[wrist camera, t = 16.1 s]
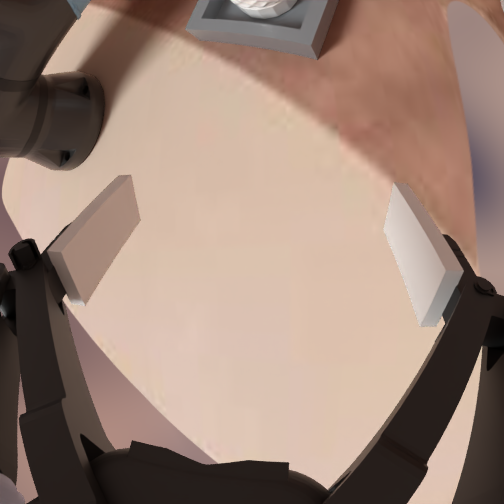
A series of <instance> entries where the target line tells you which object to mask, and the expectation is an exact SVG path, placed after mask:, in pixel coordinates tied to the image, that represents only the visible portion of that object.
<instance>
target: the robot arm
mask: <svg viewBox="0 0 504 504" xmlns="http://www.w3.org/2000/svg"><path fill="white" fill-rule="evenodd" d="M90 1H91V0H0V158H3V157H5V158H6V157H21V158H26V159H28V160H31V161H33V162H35V163H37V164H40V165H42V166H44V167H46V168H49V169H51V170H62V171H67V170H72V169H74V168H76V167H77V166H79V165H80V164H81V163H82V162H83V161H84V160H85V159H86V157H87V156H88V155H89V153H90V152H91V150H92V148H93V146H94V144H95V142H96V140H97V137H98V135H99V132H100V129H101V125H102V120H103V115H104V94H103V89H102V86H101V84H100V82H99V81H98V79H97V78H96V77H94V76H93V75H90V74H87V73H83V72H78V71H73V72H64V73H56V74H49V75H41V73H42V72H43V70H44V68H45V67H46V65H47V63H48V62H49V60H50V58H51V57H52V55H53V54H54V52H55V51H56V49H57V47H58V46H59V44H60V43H61V41H62V40H63V38H64V37H65V36H66V34H67V33H68V31H69V30H70V28H71V27H72V26H73V24H74V23H75V22H76V20H77V19H78V20H79V19H80V17H81V13H82V12H83V10H84V9H85V8H86V6H87V5H88V4H89V2H90ZM139 222H140V215H139V211H138V206H137V201H136V197H135V192H134V187H133V182H132V177H131V175H120V176H118V177H117V178H116V179H114V180H113V181H112V182H111V183H110V184H109V185H108V186H107V187H106V188H105V189H104V190H103V191H102V192H101V193H100V194H99V195H98V196H97V197H96V198H95V199H94V200H93V201H92V202H91V203H90V204H89V205H88V206H87V207H86V208H85V209H84V210H83V211H82V212H81V214H80V215H79V216H78V217H77V218H76V219H75V220H74V221H73V222H72V223H70V224H69V225H67V226H66V227H65V228H64V229H63V230H62V231H61V232H60V233H59V235H57V236H56V238H55V239H54V240H53V241H52V242H51V243H50V244H49V246H48V247H47V248H46V249H45V250H44V251H43V253H42V254H40V252H39V250H38V247H37V245H36V243H35V240H34V239H25V240H22V241H20V242H18V243H17V244H15V245H14V246H13V247H12V248H11V249H10V251H9V253H8V254H9V257H10V259H11V261H12V263H13V265H14V267H15V269H16V270H15V271H10V272H8V271H7V269H6V267H5V265H4V264H3V263H0V311H1V312H2V314H3V316H1V312H0V504H25V500H24V497H23V495H22V494H21V493H20V492H18V491H17V488H16V481H17V468H18V466H17V456H18V454H17V415H18V414H17V413H18V395H19V382H20V372H21V379H22V387H23V393H24V398H25V405H26V413H24V414H22V415H20V417H19V425H20V430H21V435H22V439H23V443H24V448H25V452H26V456H27V460H28V463H29V467H30V471H31V474H32V477H33V481H34V484H35V486H36V490H37V493H38V497H37V498H35V499H33V500H32V501H30V502H29V503H27V504H407V503H408V501H409V500H410V498H411V497H412V496H413V494H414V493H415V491H416V490H417V488H418V487H419V485H420V484H421V482H422V480H423V479H424V477H425V475H426V473H427V470H428V466H427V462H428V460H429V458H430V456H431V455H432V453H433V451H434V449H435V448H436V446H437V444H438V442H439V441H440V439H441V437H442V435H443V433H444V431H445V429H446V428H447V426H448V424H449V422H450V420H451V418H452V416H453V414H454V412H455V410H456V408H457V405H458V403H459V401H460V399H461V397H462V395H463V392H464V390H465V388H466V385H467V383H468V381H469V378H470V376H471V373H472V371H473V368H474V366H475V363H476V360H477V358H478V355H479V352H480V350H481V347H482V361H481V372H480V381H479V390H478V397H477V404H476V410H475V416H474V422H473V427H472V432H471V437H470V441H469V446H468V450H467V454H466V458H465V462H464V466H463V470H462V473H461V477H460V480H459V483H458V487H457V490H456V493H455V496H454V499H453V502H452V504H504V296H501V295H498V294H497V292H496V290H495V287H494V286H493V285H492V284H491V283H490V282H489V281H487V280H486V279H484V278H482V277H478V276H476V274H475V273H474V271H473V269H472V267H471V266H470V264H469V262H468V261H467V259H466V258H465V256H464V254H463V253H462V251H461V249H460V248H459V246H458V245H457V243H456V242H455V241H454V240H453V239H452V238H451V237H450V236H448V235H444V234H442V233H441V232H440V230H439V229H438V227H437V226H436V224H435V223H434V221H433V220H432V218H431V217H430V215H429V214H428V212H427V211H426V209H425V208H424V206H423V205H422V203H421V202H420V201H419V199H418V198H417V196H416V195H415V194H414V192H413V191H412V189H411V188H410V187H409V185H408V184H406V183H397V182H393V187H392V192H391V197H390V202H389V207H388V211H387V216H386V220H385V225H384V229H383V230H384V232H385V235H386V237H387V240H388V242H389V244H390V247H391V249H392V252H393V254H394V257H395V259H396V262H397V264H398V267H399V270H400V272H401V275H402V277H403V280H404V283H405V286H406V288H407V291H408V294H409V297H410V300H411V303H412V305H413V308H414V311H415V314H416V317H417V321H418V324H419V327H433V326H437V324H438V322H439V320H440V319H441V317H442V316H443V318H444V321H445V325H444V327H443V328H442V330H441V332H440V334H439V335H438V337H437V339H436V340H435V344H434V345H433V347H432V349H431V351H430V353H429V354H428V356H427V358H426V360H425V361H424V363H423V365H422V366H421V368H420V370H419V371H418V373H417V375H416V376H415V378H414V380H413V381H412V383H411V384H410V386H409V388H408V389H407V391H406V392H405V394H404V395H403V397H402V398H401V400H400V401H399V403H398V404H397V406H396V407H395V409H394V410H393V411H392V413H391V414H390V416H389V417H388V419H387V420H386V421H385V423H384V424H383V425H382V427H381V428H380V429H379V431H378V432H377V433H376V435H375V436H374V437H373V439H372V440H371V441H370V443H369V444H368V445H367V446H366V448H365V449H364V450H363V451H362V453H361V454H360V455H359V456H358V457H357V459H356V460H355V461H354V462H353V463H352V464H351V466H350V467H349V468H348V469H347V470H346V471H345V472H344V473H343V474H342V475H341V476H340V477H339V478H338V480H337V481H336V482H335V483H334V484H333V485H332V486H331V487H330V488H329V489H328V490H327V489H326V488H324V487H323V486H322V485H321V484H320V483H318V482H317V481H315V480H314V479H312V478H310V477H308V476H306V475H304V474H301V473H298V472H295V471H292V470H289V463H288V462H266V461H252V460H246V461H239V462H231V463H221V464H211V465H205V464H201V463H199V462H196V461H194V460H191V459H189V458H187V457H185V456H182V455H180V454H178V453H176V452H174V451H171V450H169V449H167V448H163V447H158V446H153V445H149V444H145V443H141V442H136V441H133V440H132V442H131V446H130V448H125V449H117V450H115V448H114V447H113V446H112V444H111V443H110V441H109V440H108V438H107V437H106V434H105V432H104V430H103V428H102V425H101V422H100V420H99V417H98V415H97V412H96V409H95V407H94V404H93V401H92V398H91V396H90V393H89V390H88V387H87V384H86V381H85V378H84V375H83V372H82V368H81V365H80V362H79V358H78V355H77V351H76V347H75V344H74V340H73V336H72V332H71V328H70V324H69V320H68V316H67V311H66V307H65V304H64V302H63V300H62V299H63V297H64V296H65V294H67V296H68V298H69V300H70V302H71V304H76V305H82V306H86V304H87V302H88V300H89V299H90V297H91V295H92V294H93V292H94V290H95V289H96V287H97V286H98V284H99V282H100V281H101V279H102V278H103V276H104V274H105V273H106V271H107V270H108V268H109V266H110V265H111V263H112V262H113V260H114V259H115V257H116V256H117V254H118V253H119V251H120V250H121V248H122V247H123V245H124V244H125V242H126V241H127V239H128V238H129V236H130V235H131V233H132V232H133V230H134V229H135V228H136V226H137V225H138V223H139Z"/></svg>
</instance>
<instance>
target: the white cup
mask: <svg viewBox="0 0 504 504" xmlns="http://www.w3.org/2000/svg"><path fill="white" fill-rule="evenodd" d="M231 1H232V2H233V3H234V4H236V5H237V6H238V7H239V8H240V9H241V10H242V11H243V12H244V13H246V14H247V15H249V16H250V17H253V18H260V19H267V18H272V17H278V16H280V15H281V14H283V13H285V12H287V11H289V10H290V9H291V8H292V7H293V5H294V4H295V3H296V2H297V0H231Z"/></svg>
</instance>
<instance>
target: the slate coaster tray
mask: <svg viewBox="0 0 504 504" xmlns="http://www.w3.org/2000/svg"><path fill="white" fill-rule="evenodd" d="M338 2H339V0H297V2H296V3H295V4H294V5H293V7H292V8H291V9H290V10H289V11H287V12H285V13H283V14H281V15H280V16H278V17H272V18H267V19H260V18H253V17H250V16H249V15H247V14H246V13H244V12H243V11H242V10H241V9H240V8H239V7H238V6H237V5H236V4H234V3H233V2H232V1H231V0H198V2H197V4H196V7H195V9H194V11H193V13H192V15H191V17H190V19H189V21H188V24H187V26H186V28H185V30H187V31H188V32H189V33H191V34H192V35H193V36H195V37H196V38H197V39H199V40H201V41H212V42H222V43H230V44H238V45H245V46H252V47H258V48H264V49H270V50H275V51H280V52H285V53H290V54H295V55H299V56H304V57H308V58H312V59H316V60H318V57H319V54H320V51H321V49H322V46H323V43H324V40H325V38H326V35H327V32H328V29H329V27H330V24H331V21H332V18H333V15H334V13H335V10H336V7H337V4H338Z"/></svg>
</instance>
